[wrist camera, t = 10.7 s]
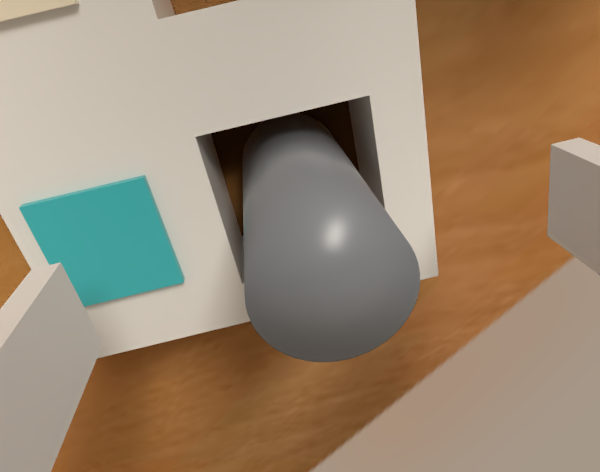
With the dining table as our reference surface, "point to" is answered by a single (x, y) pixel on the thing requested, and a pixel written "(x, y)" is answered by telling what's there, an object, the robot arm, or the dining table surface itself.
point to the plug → (319, 247)
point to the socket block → (188, 141)
